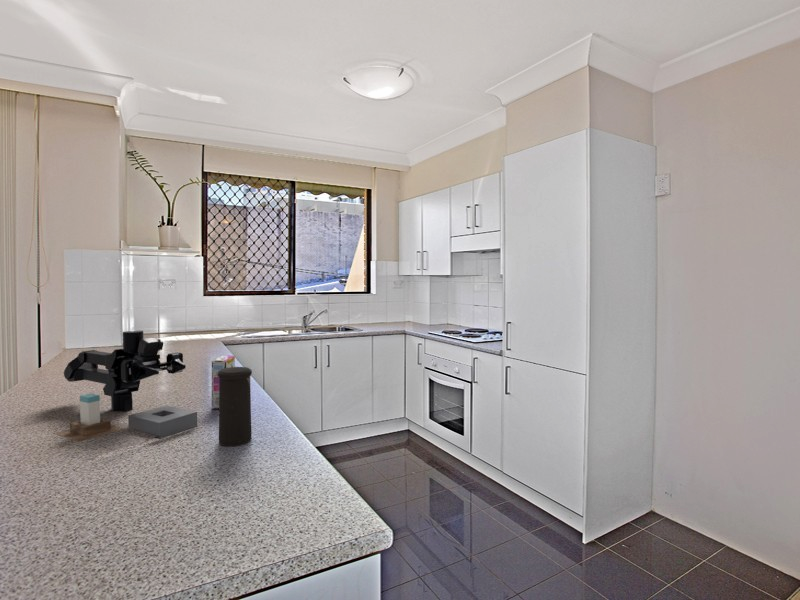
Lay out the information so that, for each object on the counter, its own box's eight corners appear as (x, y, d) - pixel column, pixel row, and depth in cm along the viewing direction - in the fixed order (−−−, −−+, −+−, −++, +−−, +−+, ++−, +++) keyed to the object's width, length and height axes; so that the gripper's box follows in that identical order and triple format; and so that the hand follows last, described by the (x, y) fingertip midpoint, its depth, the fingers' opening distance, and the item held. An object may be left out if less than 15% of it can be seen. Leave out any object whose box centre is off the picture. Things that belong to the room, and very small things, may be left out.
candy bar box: (226, 409, 154) (226, 360, 153) (211, 409, 154) (210, 360, 153) (235, 400, 165) (235, 355, 165) (221, 400, 165) (220, 355, 164)
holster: (55, 437, 127) (54, 424, 127) (100, 425, 137) (100, 413, 137) (79, 445, 121) (78, 431, 121) (125, 431, 132) (124, 419, 131)
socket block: (128, 430, 132) (128, 415, 132) (166, 419, 143) (166, 405, 143) (159, 439, 126) (159, 422, 126) (197, 426, 136) (197, 411, 136)
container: (259, 437, 128) (258, 365, 127) (237, 449, 119) (237, 372, 118) (233, 434, 130) (232, 363, 129) (210, 444, 122) (209, 369, 121)
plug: (80, 431, 129) (79, 395, 128) (92, 428, 131) (91, 393, 131) (88, 433, 127) (88, 397, 126) (100, 430, 129) (99, 395, 129)
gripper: (108, 342, 137) (140, 346, 129) (166, 335, 153) (198, 338, 146) (108, 379, 137) (141, 385, 130) (166, 368, 154) (198, 373, 146)
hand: (171, 369), depth 138 cm, fingers open, 9 cm apart
